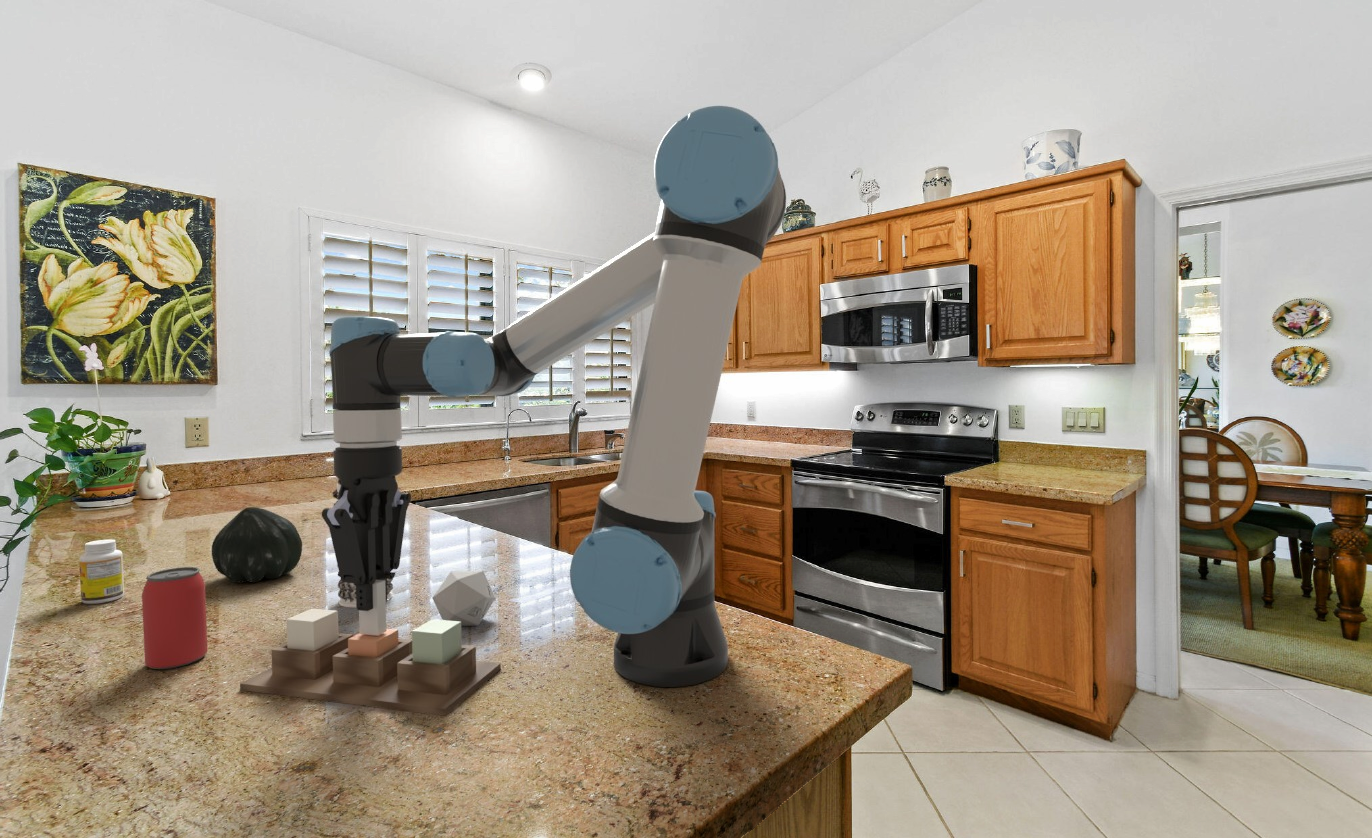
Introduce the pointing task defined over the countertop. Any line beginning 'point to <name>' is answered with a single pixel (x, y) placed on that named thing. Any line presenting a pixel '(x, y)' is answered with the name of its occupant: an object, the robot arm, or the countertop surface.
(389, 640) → the terracotta button
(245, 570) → the squash
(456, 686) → the button board
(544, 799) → the countertop surface
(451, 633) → the sage button
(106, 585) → the supplement bottle
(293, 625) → the ivory button
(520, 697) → the countertop surface
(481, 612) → the die
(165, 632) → the beer can
